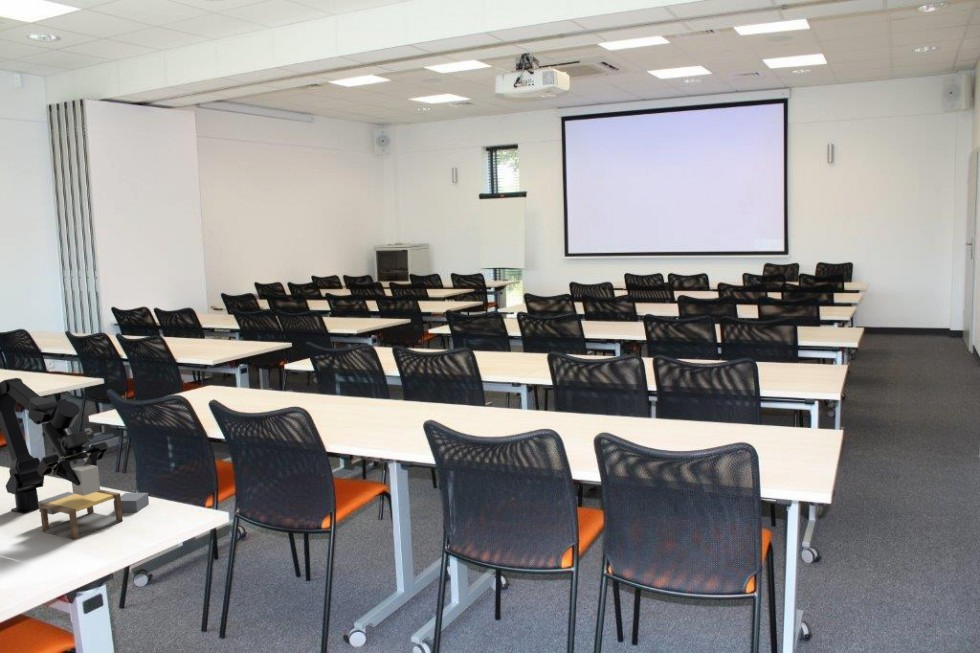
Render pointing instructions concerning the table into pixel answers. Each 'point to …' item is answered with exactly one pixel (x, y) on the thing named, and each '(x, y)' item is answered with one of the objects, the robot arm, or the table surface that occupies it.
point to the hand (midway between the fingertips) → (88, 481)
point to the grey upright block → (86, 479)
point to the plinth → (133, 502)
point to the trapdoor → (76, 500)
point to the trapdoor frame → (80, 519)
